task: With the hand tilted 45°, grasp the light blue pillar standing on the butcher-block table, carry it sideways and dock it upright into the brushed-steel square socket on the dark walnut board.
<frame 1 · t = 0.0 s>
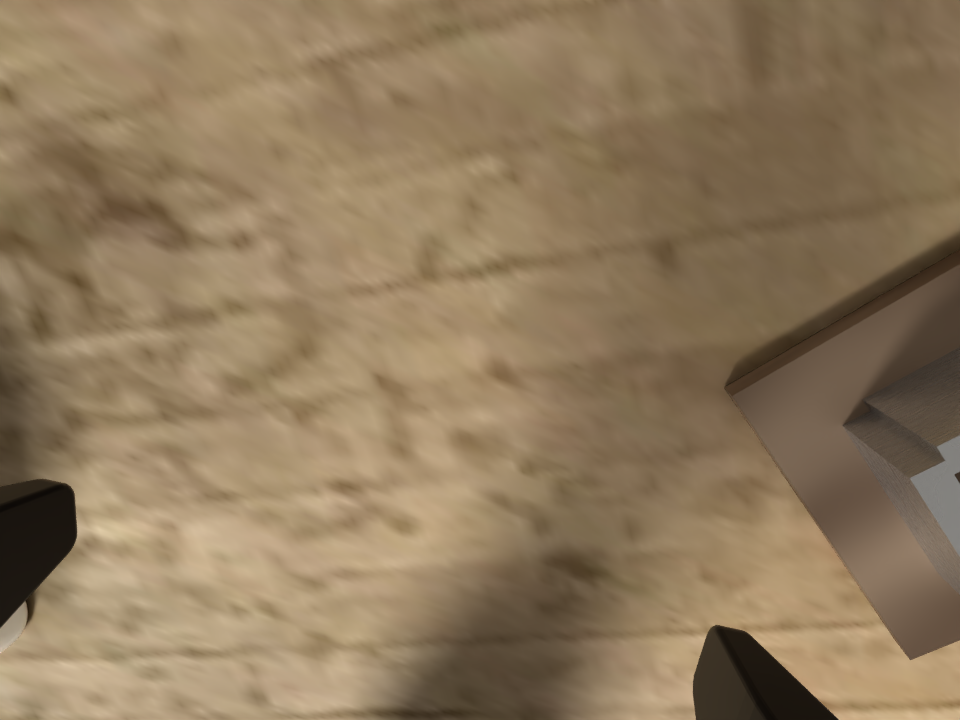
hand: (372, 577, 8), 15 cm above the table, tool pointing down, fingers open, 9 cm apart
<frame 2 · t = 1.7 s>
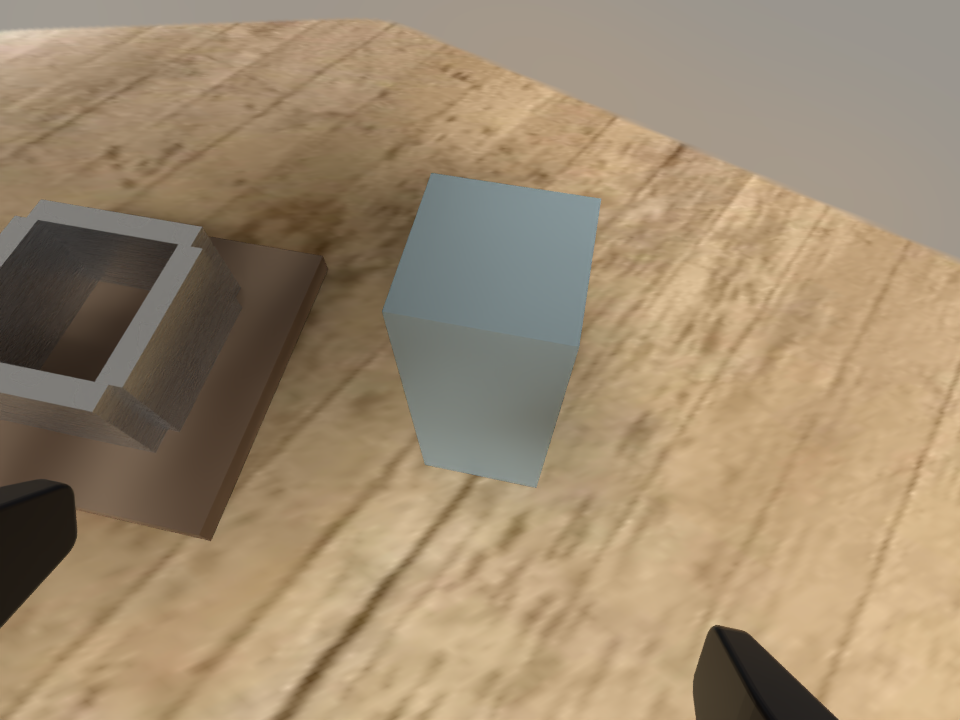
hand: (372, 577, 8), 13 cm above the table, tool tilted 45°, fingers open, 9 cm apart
light blue pillar: (491, 424, 23), on the table
docking socket: (138, 360, 25), on the table
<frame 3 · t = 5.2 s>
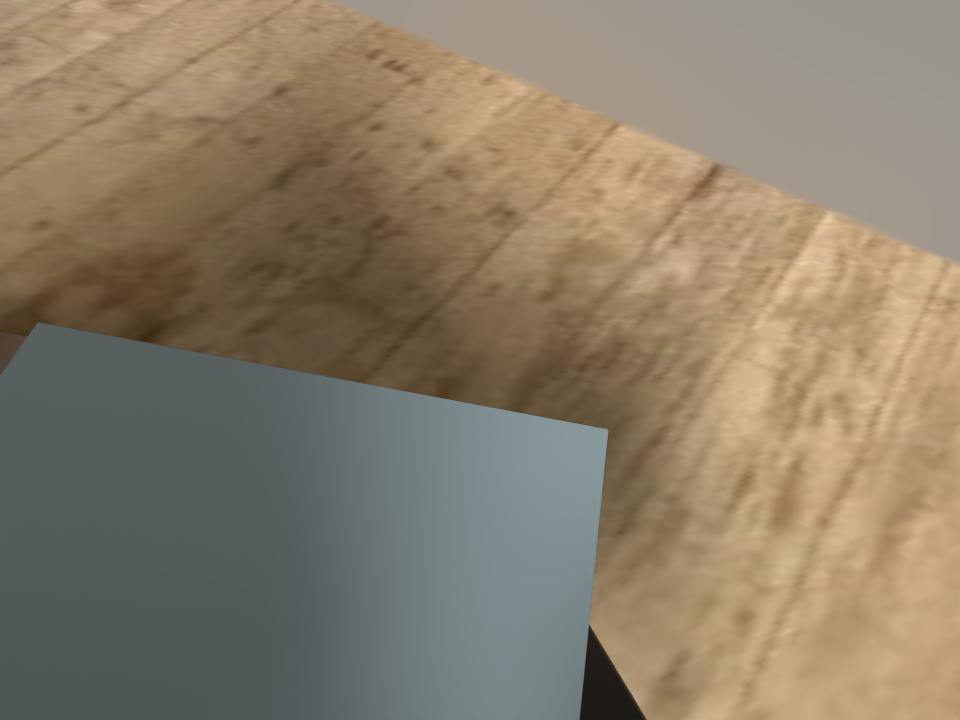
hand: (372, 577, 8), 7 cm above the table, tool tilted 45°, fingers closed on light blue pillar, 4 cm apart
light blue pillar: (402, 683, 13), on the table, touching gripper
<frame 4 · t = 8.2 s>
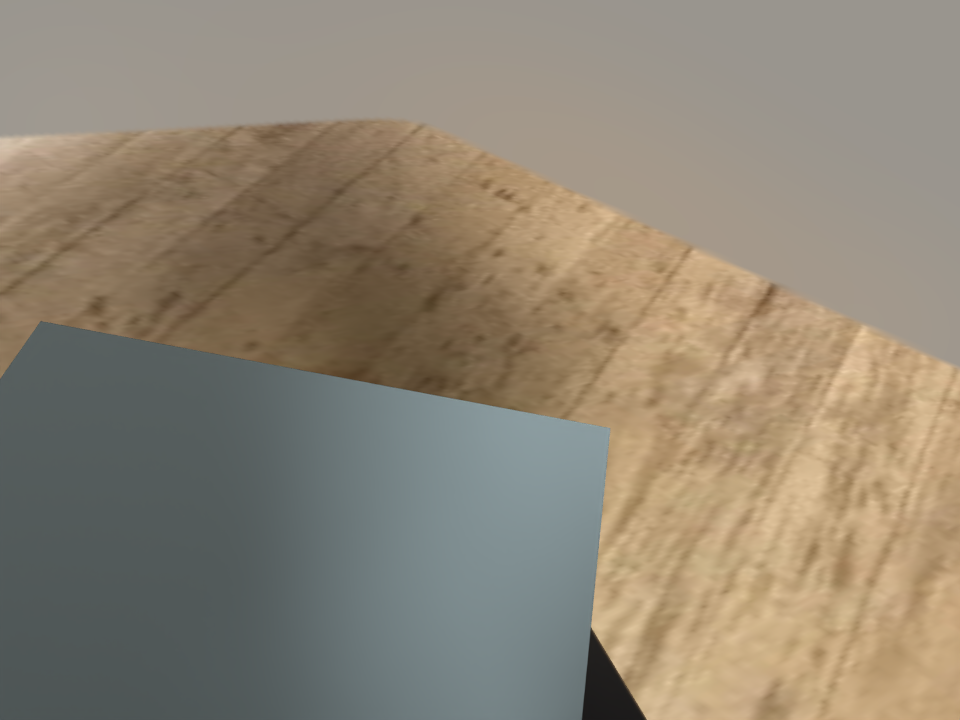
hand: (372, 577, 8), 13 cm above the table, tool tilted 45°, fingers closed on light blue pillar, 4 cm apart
light blue pillar: (403, 682, 13), point 7 cm above the table, touching gripper
when the fingers open (8 cm above the table, at t = 11.3 s): light blue pillar stays where it is, resting on docking socket.
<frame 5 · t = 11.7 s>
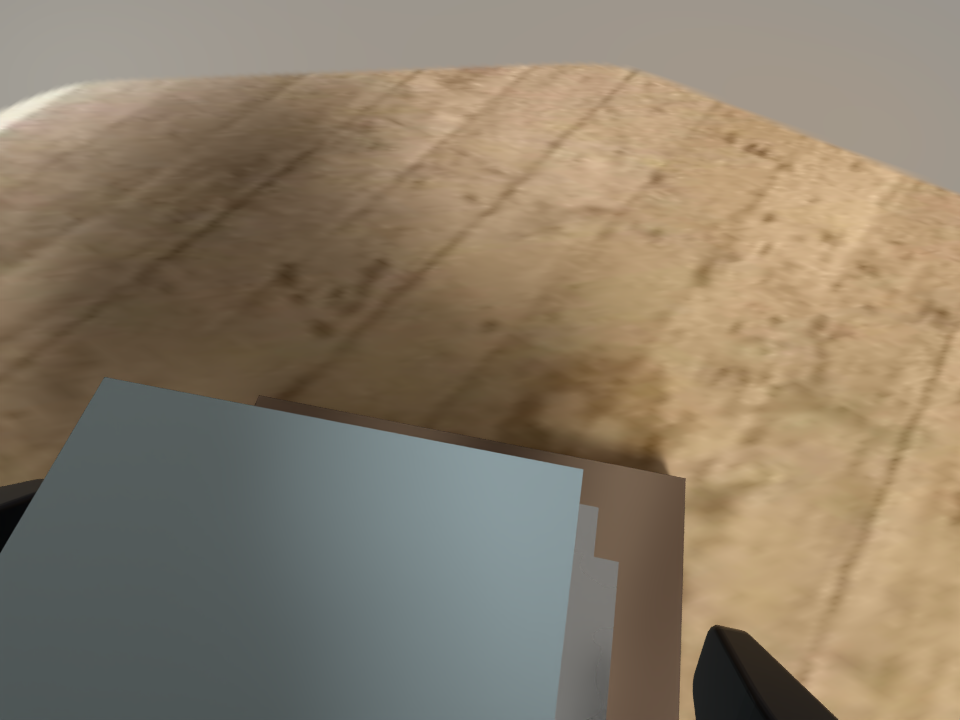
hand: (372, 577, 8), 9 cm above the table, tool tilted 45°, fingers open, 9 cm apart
light blue pillar: (406, 680, 14), point 1 cm above the table, touching docking socket
docking socket: (411, 680, 14), on the table
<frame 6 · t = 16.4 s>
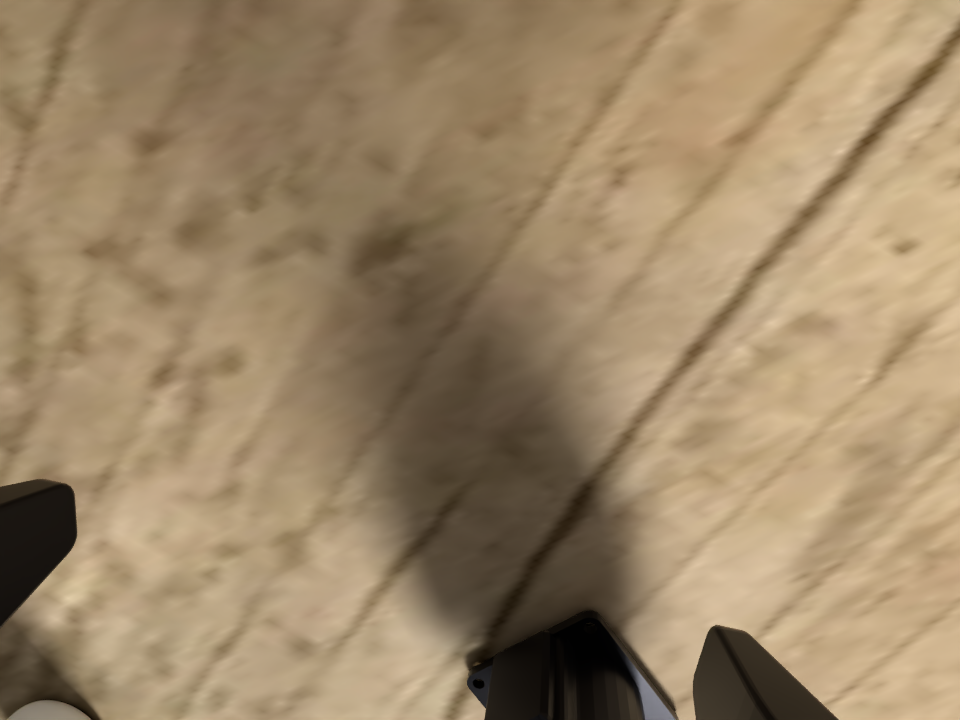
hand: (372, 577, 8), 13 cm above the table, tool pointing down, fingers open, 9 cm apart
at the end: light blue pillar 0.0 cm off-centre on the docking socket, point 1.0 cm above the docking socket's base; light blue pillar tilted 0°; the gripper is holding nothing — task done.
